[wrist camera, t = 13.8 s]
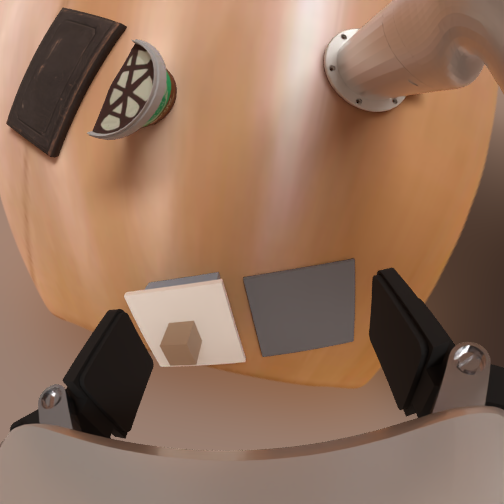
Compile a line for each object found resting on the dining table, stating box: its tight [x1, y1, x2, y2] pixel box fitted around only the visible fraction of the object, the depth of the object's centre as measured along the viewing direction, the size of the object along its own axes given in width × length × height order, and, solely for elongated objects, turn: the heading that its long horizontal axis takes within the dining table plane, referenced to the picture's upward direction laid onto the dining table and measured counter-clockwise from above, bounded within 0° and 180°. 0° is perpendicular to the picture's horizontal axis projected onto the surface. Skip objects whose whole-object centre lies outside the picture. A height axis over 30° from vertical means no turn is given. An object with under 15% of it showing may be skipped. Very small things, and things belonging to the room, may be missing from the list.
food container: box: [87, 39, 177, 140], centre depth 26 cm, size 12×6×10 cm, turn 150°
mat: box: [243, 259, 355, 357], centre depth 44 cm, size 17×17×1 cm
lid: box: [124, 279, 246, 367], centre depth 37 cm, size 15×15×6 cm
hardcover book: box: [6, 8, 127, 157], centre depth 27 cm, size 16×23×2 cm
